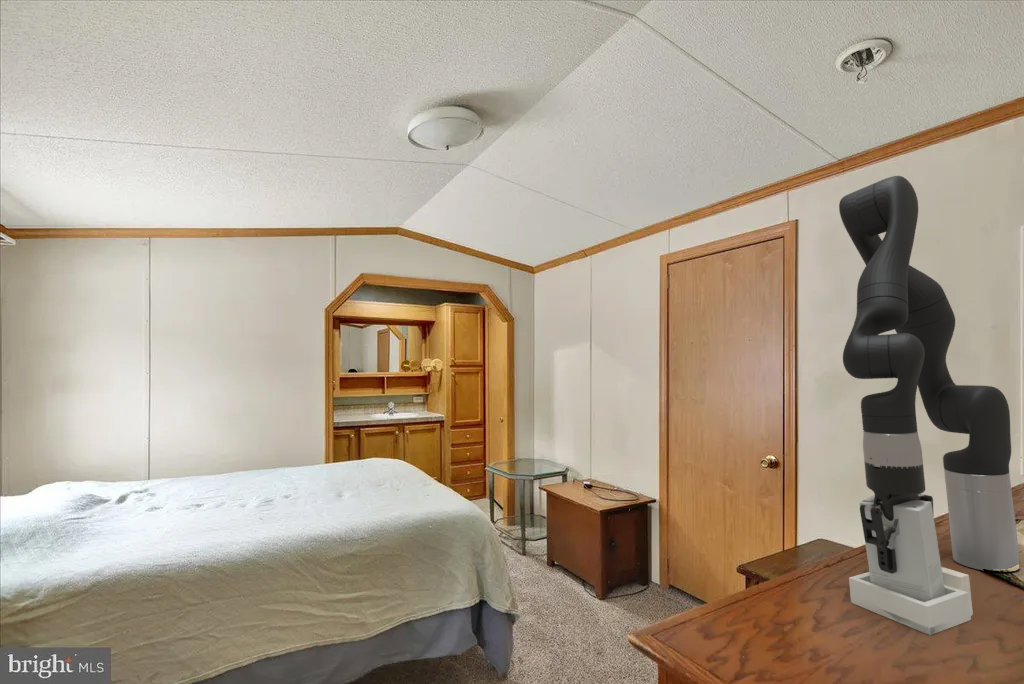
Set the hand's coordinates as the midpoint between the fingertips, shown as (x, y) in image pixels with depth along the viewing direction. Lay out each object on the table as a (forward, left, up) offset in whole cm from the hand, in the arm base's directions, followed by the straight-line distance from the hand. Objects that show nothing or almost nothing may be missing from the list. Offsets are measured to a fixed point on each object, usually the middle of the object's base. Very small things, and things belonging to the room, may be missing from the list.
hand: (903, 566), depth 81 cm
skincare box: (0, 0, -5) cm, 5 cm away
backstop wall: (-6, 0, -7) cm, 9 cm away
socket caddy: (0, 0, -7) cm, 7 cm away
